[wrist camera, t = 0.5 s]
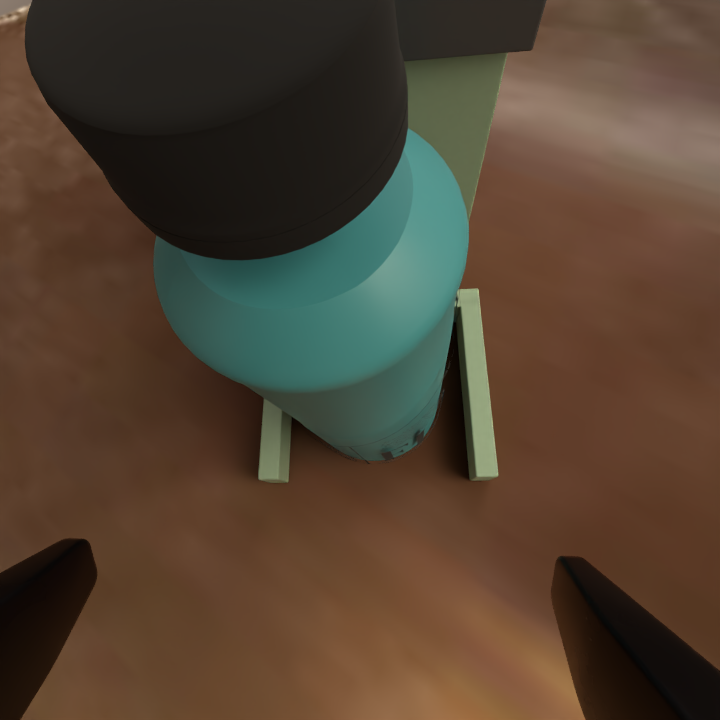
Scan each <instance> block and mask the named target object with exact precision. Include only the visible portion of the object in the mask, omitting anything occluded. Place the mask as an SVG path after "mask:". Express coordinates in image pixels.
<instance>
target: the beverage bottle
mask: <svg viewBox="0 0 720 720" xmlns="http://www.w3.org/2000/svg"><path fill="white" fill-rule="evenodd" d="M25 49H26V58H27V62H28V65H29V68H30V71H31V74H32V76H33V78H34V79H35V81H36V83H37V85H38V87H39V89H40V91H41V93H42V95H43V97H44V98H45V100H46V102H47V104H48V105H49V106H50V108H51V109H52V110H53V111H54V112H55V114H56V115H57V116H58V117H59V119H60V120H61V121H62V122H63V123H64V125H65V126H66V127H67V128H68V129H69V131H70V132H71V133H72V134H73V136H74V137H75V138H76V139H77V140H78V142H79V143H80V144H81V145H82V147H83V148H84V149H85V150H86V151H87V153H88V154H89V155H90V156H91V157H92V159H93V160H94V161H95V162H96V164H97V165H98V166H99V167H100V168H101V170H102V171H103V173H104V175H105V177H106V179H107V180H108V182H109V184H110V186H111V187H112V189H113V190H114V191H115V193H116V194H117V195H118V196H119V197H120V199H121V200H122V201H123V202H124V203H125V205H126V206H127V207H128V208H129V209H130V210H131V211H132V212H133V213H134V214H135V215H136V216H137V217H138V218H139V219H140V220H141V221H142V222H143V223H144V224H145V225H146V226H147V227H148V228H149V229H150V230H151V231H152V232H154V233H155V234H156V235H157V236H156V241H155V246H154V259H153V266H154V280H155V285H156V289H157V294H158V298H159V300H160V303H161V306H162V308H163V311H164V313H165V316H166V318H167V319H168V321H169V323H170V325H171V327H172V329H173V331H174V332H175V333H176V335H177V336H178V337H179V339H180V340H181V341H182V343H183V344H184V345H185V346H186V347H187V348H188V349H189V350H190V351H191V352H192V353H193V354H194V355H195V356H196V357H197V358H198V359H200V360H201V361H202V362H204V363H205V364H206V365H208V366H209V367H211V368H212V369H213V370H215V371H216V372H218V373H220V374H222V375H224V376H226V377H227V378H229V379H231V380H233V381H235V382H238V383H241V384H244V385H245V386H247V387H248V388H250V389H251V390H253V391H254V392H256V393H257V394H259V395H260V396H262V397H263V398H265V399H266V400H268V401H269V402H271V403H272V404H274V405H275V406H277V407H278V408H280V409H281V410H283V411H284V412H286V413H287V414H289V415H290V416H292V417H293V418H295V419H296V420H298V421H299V422H301V423H302V424H303V425H304V426H305V427H306V428H307V429H309V430H310V431H312V432H313V433H315V434H316V435H317V436H319V437H320V438H322V439H323V440H324V441H326V442H327V443H329V445H332V446H333V448H336V449H337V450H338V451H340V452H341V453H344V454H345V456H346V455H348V456H349V458H350V456H351V458H350V459H352V457H353V459H354V458H357V459H361V460H365V461H366V460H369V461H380V460H385V461H387V460H390V459H393V460H394V457H396V458H397V456H399V455H402V454H404V453H406V452H407V451H409V450H411V449H412V448H413V447H414V446H416V445H418V444H420V443H421V442H422V441H423V440H424V439H425V438H424V436H425V435H426V433H427V432H428V430H429V429H430V427H431V425H432V423H433V420H434V418H435V414H436V410H437V406H439V405H438V401H439V399H440V398H439V396H441V395H440V390H441V386H443V383H442V380H443V378H444V377H445V376H443V375H445V374H444V370H445V369H446V360H447V355H448V349H449V344H450V338H451V332H452V333H453V331H452V325H453V326H454V323H453V318H454V309H455V307H454V306H455V301H456V309H457V304H458V297H457V291H458V289H459V287H460V284H461V280H462V277H463V273H464V270H465V265H466V258H467V251H468V245H469V225H468V218H467V212H466V207H465V203H464V200H463V197H462V194H461V191H460V187H459V185H458V183H457V181H456V179H455V177H454V175H453V173H452V171H451V170H450V168H449V167H448V165H447V164H446V162H445V161H444V159H443V158H442V157H441V156H440V155H439V154H438V152H437V151H436V150H435V149H434V148H433V147H432V146H431V145H430V144H429V143H428V142H426V141H425V140H424V139H423V138H422V137H420V136H419V135H418V134H417V133H415V132H414V131H412V130H411V129H409V128H408V85H407V76H406V70H405V63H404V59H403V56H402V53H401V50H400V47H399V38H398V29H397V20H396V11H395V2H394V0H32V3H31V6H30V8H29V12H28V17H27V21H26V27H25ZM459 297H460V291H459ZM455 316H456V313H455ZM459 320H460V315H459ZM454 321H455V318H454ZM457 334H458V333H457ZM453 339H454V335H453ZM453 352H454V351H453ZM452 355H453V354H452ZM449 363H450V362H449ZM448 366H449V365H448ZM448 369H449V368H448ZM446 371H447V370H446ZM445 373H446V372H445ZM442 392H443V391H442V390H441V394H442ZM444 392H445V390H444ZM444 392H443V395H442V400H443V396H444ZM440 401H441V399H440ZM440 401H439V402H440ZM441 402H442V401H441ZM441 404H442V403H441ZM440 407H441V406H440ZM439 411H440V410H439ZM438 414H439V413H438ZM437 419H438V416H437ZM433 426H434V424H433ZM432 428H433V427H432ZM430 431H432V429H431V430H430ZM428 434H429V433H428ZM427 438H428V436H427ZM317 441H318V440H317ZM320 443H321V441H320ZM325 445H326V444H325ZM328 447H329V446H328ZM417 447H418V446H417ZM417 447H416V448H417ZM414 448H415V447H414ZM329 449H331V446H330V448H329ZM337 450H336V451H337ZM415 450H416V449H415ZM412 451H413V450H412ZM412 451H411V453H412ZM335 453H337V452H335ZM338 453H339V452H338ZM409 453H410V452H409ZM344 454H342V455H344ZM340 455H341V454H340ZM345 456H344V457H345ZM406 456H407V455H406ZM346 458H347V456H346ZM402 458H403V456H402ZM397 460H398V458H397ZM353 461H354V460H353ZM355 461H356V460H355ZM391 461H392V460H391ZM394 461H395V460H394ZM366 462H367V461H366ZM387 463H388V461H387ZM367 464H370V463H368V462H367ZM380 464H381V463H380Z"/></svg>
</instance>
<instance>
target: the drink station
mask: <svg viewBox="0 0 720 720" xmlns="http://www.w3.org/2000/svg"><path fill="white" fill-rule="evenodd" d="M394 2H395V11H396V20H397V29H398V38H399V47H400V50H401V53H402V56H403V59H404V63H405V70H406V76H407V85H408V128H409V129H411V130H412V131H414V132H415V133H417V134H418V135H419V136H420V137H422V138H423V139H424V140H425V141H426V142H428V143H429V144H430V145H431V146H432V147H433V148H434V149H435V150H436V151H437V152H438V154H439V155H440V156H441V157H442V158H443V159H444V161H445V162H446V164H447V165H448V167H449V168H450V170H451V171H452V173H453V175H454V177H455V179H456V181H457V183H458V185H459V187H460V191H461V194H462V197H463V200H464V203H465V207H466V212H467V218H468V223H469V218H470V214H471V210H472V205H473V201H474V197H475V192H476V188H477V184H478V179H479V175H480V171H481V166H482V162H483V158H484V153H485V149H486V145H487V141H488V136H489V132H490V128H491V123H492V119H493V115H494V110H495V106H496V102H497V97H498V93H499V89H500V84H501V80H502V76H503V71H504V67H505V63H506V58H507V54H508V52H519V51H530V50H532V49H533V46H534V42H535V39H536V35H537V32H538V28H539V24H540V21H541V17H542V14H543V10H544V7H545V3H546V0H394ZM459 291H460V297H459ZM457 297H458V304H457V309H456V301H455V306H454V307H455V309H454V318H455V321H454V318H453V322H456V328H457V333H458V334H457V340H458V351H459V363H460V374H461V386H462V398H463V409H464V421H465V432H466V444H467V456H468V467H469V479H470V480H471V481H481V480H491V479H493V478H496V477H498V468H497V459H496V450H495V440H494V431H493V422H492V413H491V403H490V394H489V385H488V376H487V366H486V357H485V348H484V338H483V329H482V320H481V311H480V300H479V291H478V289H458V291H457ZM455 313H456V316H455ZM459 315H460V320H459ZM291 421H292V416H290V415H289V414H287V413H286V412H284V411H283V410H281V409H280V408H278V407H277V406H275V405H274V404H272V403H271V402H269V401H268V400H266V399H265V398H264V403H263V417H262V431H261V445H260V458H259V472H258V479H259V480H262V481H266V482H269V483H287V482H288V481H289V461H290V441H291Z"/></svg>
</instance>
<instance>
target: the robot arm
mask: <svg viewBox="0 0 720 720" xmlns="http://www.w3.org/2000/svg"><path fill="white" fill-rule="evenodd" d="M96 579H97V568H96V564H95V561H94V557H93V553H92V550H91V546H90V543H89V542H88V541H87V540H85V539H77V538H67V539H63V540H61V541H59V542H57V543H55V544H53V545H51V546H49V547H48V548H46V549H44V550H42V551H40V552H38V553H36V554H35V555H33V556H31V557H29V558H27V559H25V560H23V561H22V562H20V563H18V564H16V565H14V566H12V567H10V568H9V569H7V570H5V571H3V572H1V573H0V720H20V719H21V718H22V716H23V714H24V713H25V711H26V710H27V708H28V706H29V705H30V703H31V701H32V700H33V698H34V697H35V695H36V693H37V692H38V690H39V688H40V687H41V685H42V684H43V682H44V680H45V679H46V677H47V675H48V674H49V672H50V670H51V668H52V667H53V665H54V663H55V661H56V659H57V657H58V656H59V654H60V652H61V650H62V648H63V646H64V644H65V642H66V640H67V638H68V636H69V634H70V632H71V630H72V628H73V626H74V624H75V623H76V621H77V619H78V617H79V615H80V613H81V611H82V609H83V607H84V605H85V603H86V601H87V599H88V597H89V595H90V593H91V591H92V589H93V587H94V585H95V582H96ZM551 599H552V605H553V609H554V612H555V616H556V620H557V623H558V627H559V631H560V635H561V638H562V642H563V646H564V650H565V653H566V657H567V661H568V665H569V668H570V672H571V676H572V680H573V683H574V687H575V690H576V693H577V697H578V700H579V703H580V706H581V708H582V711H583V714H584V717H585V719H586V720H720V671H719V670H718V669H717V668H716V667H714V666H713V665H712V664H711V663H710V662H708V661H707V660H706V659H705V658H703V657H702V656H701V655H700V654H699V653H697V652H696V651H695V650H694V649H693V648H691V647H690V646H689V645H688V644H687V643H685V642H684V641H683V640H682V639H681V638H679V637H678V636H677V635H676V634H674V633H673V632H672V631H671V630H670V629H668V628H667V627H666V626H665V625H664V624H662V623H661V622H660V621H659V620H658V619H656V618H655V617H654V616H653V615H652V614H650V613H649V612H648V611H647V610H645V609H644V608H643V607H642V606H641V605H639V604H638V603H637V602H636V601H635V600H633V599H632V598H631V597H630V596H629V595H627V594H626V593H625V592H624V591H623V590H621V589H620V588H619V587H618V586H616V585H615V584H614V583H613V582H612V581H610V580H609V579H608V578H607V577H606V576H604V575H603V574H602V573H601V572H600V571H598V570H597V569H596V568H595V567H594V566H592V565H591V564H590V563H589V562H587V561H586V560H585V559H583V558H582V557H578V556H560V557H558V558H557V560H556V564H555V570H554V576H553V582H552V588H551Z"/></svg>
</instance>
